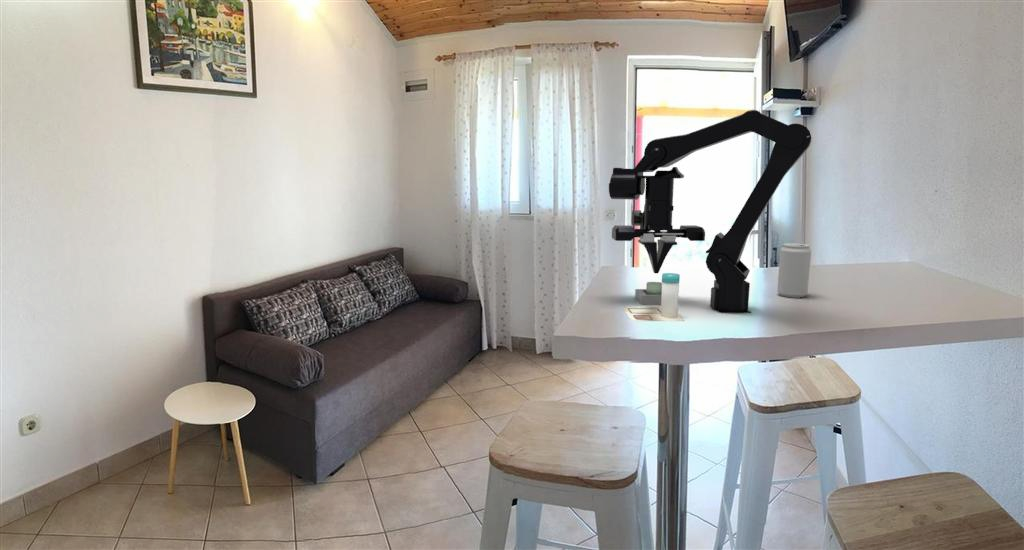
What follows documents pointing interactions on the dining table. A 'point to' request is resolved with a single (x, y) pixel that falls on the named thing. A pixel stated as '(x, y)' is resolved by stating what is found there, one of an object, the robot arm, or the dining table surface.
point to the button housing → (647, 297)
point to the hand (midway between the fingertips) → (655, 273)
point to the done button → (654, 288)
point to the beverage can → (794, 270)
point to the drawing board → (647, 314)
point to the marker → (670, 295)
